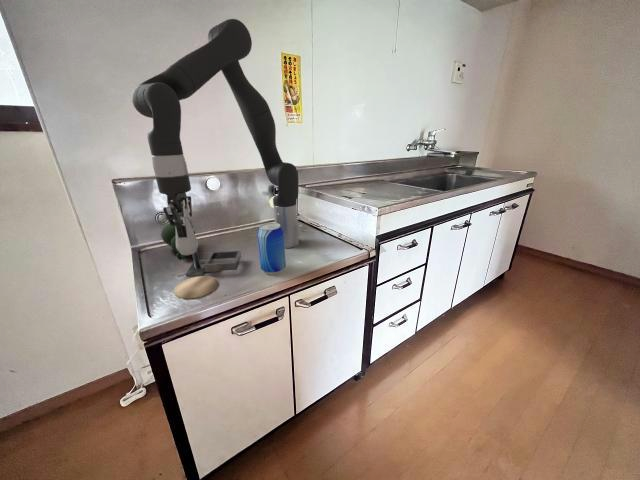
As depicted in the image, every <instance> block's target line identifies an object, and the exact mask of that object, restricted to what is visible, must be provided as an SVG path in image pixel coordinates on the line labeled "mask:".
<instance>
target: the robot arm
mask: <svg viewBox="0 0 640 480" xmlns="http://www.w3.org/2000/svg"><path fill="white" fill-rule="evenodd" d="M207 40H208V42H206V43H205V44H204V45H203V46H200V47H198V48H197V49H195V50H193V51H191V52H190V53H189V52H188V54H186V55H184V56H182V57H181V58H179V59H178V60H176V61H175V62H174V63H173V64H171V65H170V66H169V67H168V68H166V69H165V70H164V71H163V72H160V73H159V74H155V76H152V77H150V78H148V79H147V80H144V81H143V82H141V83H140V84H138V85H137V86H136V87H134V89H133V90H132V93H131V102H132V105H133V107H134V108H135V110H136V111H137V112H138V113H139V114H140V115H142V116H144V117H147V118H151V119H152V129H150V130H149V131H148V132H147V134H146V135H147V142H148V146H149V150H150V154H151V160H152V167H153V172H154V175H155V180H156V183H157V188H158V192H159V193H160V194H162V195H165V196H166V203H167V206H164V207H163V212H164V215H165V217H166V219H167V221H168V224H170V225H171V226H176V230H177V234H178V238H182V237H186V238H187V232H186V226H185V220H184V217H185V216H186V213H185V208H187V209H188V211H189V216H188V219H189V222H190V219H191V220H192V218H191V217H192V216H193V206H192V196H191V195H187V193H189V192H190V191H191V190H192V187H191V181H190V174H189V171H188V165H187V162H186V159H185V155H184V152H183V151H184V150H183V145H182V140H181V129H182V108H181V107H182V106H181V102H180V101H182V100H187V99H188V98H190V97H191V96H193V95H194V94H195V93H196V92H198V91H199V90H200V89H201V88H202V87H203V86H204V85H206V83H208V82H209V81H210V80H211V79H212V78H214V77H215V76H216V75H217V74H218V73H219V72H222V75H223V76H224V78H225V80H226V82H227V83H228V85H229V89H230V90H231V92H232V94H233V96H234V99H235V101H236V102H237V105H238V107H239V110H240V112H241V115H242V117H243V120H244V121H245V124H246V126H247V129H248V131H249V133H250V135H251V137H252V140H253V142H254V144H255V146H256V149H257V151H258V153H259V155H260V159H261V161H262V165H263V168H264V171H265V174H266V176H267V178H268V180H269V182H270V183H271V184H272V185H274V186H276V187H277V195H275V196H274V197H273V198H272V202H273V203H272V205H273V215H274V217H273V218H274V223H278V224H280V227H281V228H282V230H283V232H284V246H285V249H288V248H289V249H290V248H294V247H299V225H298V223H299V222H298V207H297V205H298V204H297V201H298V198H299V173H298V172H299V171H298V169H297V167H296V166H295V165H294V164H293V163H290V162H283V160H282V158H281V155H280V153H279V151H278V147H277V143H276V136H277V135H276V133H277V131H276V130H277V129H276V123H275V120H274V116H273V114H272V111H271V109H270V106H269V104H268V102H267V101H266V99H265V98H264V97H263V96H262V94H261V93H260V92H259V91H258V90H257V89H256V88H255V87H254V86H253V85H252V84H251V82H250V81H249V80H248V79H247V77H246V75H245V72H244V70H243V68H242V66H241V64H240V61H241V60H242V59H244V58H247V57H248V56H249V55H250V52H251V50H252V47H253V44H252V43H253V42H252V36H251V33H250V31H249V29H248V27H247V26H246V25H245V23H243V22H242V21H241V20H239V19H237V18H228V19H226V20H223V21H221V22H220V23H219V24H216V25H215V26H213V27H211V28H210V29H209V31H208V33H207ZM181 212H182V213H181ZM178 213H181V214H178ZM180 218H181V219H180ZM181 234H182V235H181Z"/></svg>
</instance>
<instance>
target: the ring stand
mask: <svg viewBox="0 0 640 480" xmlns="http://www.w3.org/2000/svg"><path fill="white" fill-rule="evenodd" d="M190 224H191V227H192V226H193V223H192V218H191V219H190ZM192 229H193V230H194V226H193V227H192ZM241 252H242V251H241V250H224V251H211V253H210V255H209V256H208V257H207V259H206V258H205V259H204V258H203V259H200V257H199V251H198V250H197V251H196V252H195V253H194V254H191V256H192V260H193V262H192V264H191V265H190V267H189V268H188V270H187V271H186V272H185V277H198V276H204V275H203V274H204V273H207V272H208V273H209V272H224V271H227V272H228V271H237V270H238V268H239V265H240V262H241V259H242V253H241ZM223 259H225V260H226V259H234V261H233V262H216V263H215V262H214V261H215V260H223Z"/></svg>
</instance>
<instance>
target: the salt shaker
mask: <svg viewBox="0 0 640 480" xmlns="http://www.w3.org/2000/svg"><path fill="white" fill-rule="evenodd" d="M181 213H182V212H181ZM181 213H178V214H181ZM185 213H186V216H185V217H184V220H185V226H186V232H187V238H186V237H182V238H178V234H177V230H176V248H177V250H178V251H179V252H180V253H181V255H188V256H191V255H192V254H194V253H195V252H196V251H197V252H198V250H197V248H198V247H199V241H198V239H197V237H196V233H195V234H194V232H195V231H194V228H193V229H192V227H191V224H190V222H189V219H188V216H189V211H188V209H187V208H185ZM180 219H181V218H180ZM175 227H176V226H175ZM181 235H182V234H181ZM198 249H199V248H198ZM190 254H191V255H190Z"/></svg>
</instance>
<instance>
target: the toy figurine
mask: <svg viewBox="0 0 640 480" xmlns="http://www.w3.org/2000/svg"><path fill="white" fill-rule="evenodd" d="M192 227H193V228H194V225H192ZM194 234H195V235H196V231H194ZM160 235H161V239H162V241H163V242H164V243H165V244H166V245H167V246H170V248H171V249H170V250H171V251H170V252H171V253H172V254H174V255H175V256H176V258H178V259H182V260H186V259H187V258H188V256H192V254H190V255H181V253H180V252H179V251H178V250H177V248H176V227H175V226H171V225H170V223H167V224H166V225H165V226H164V227H163V229H162V231H161V234H160ZM198 250H199V248H197V251H198Z"/></svg>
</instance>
